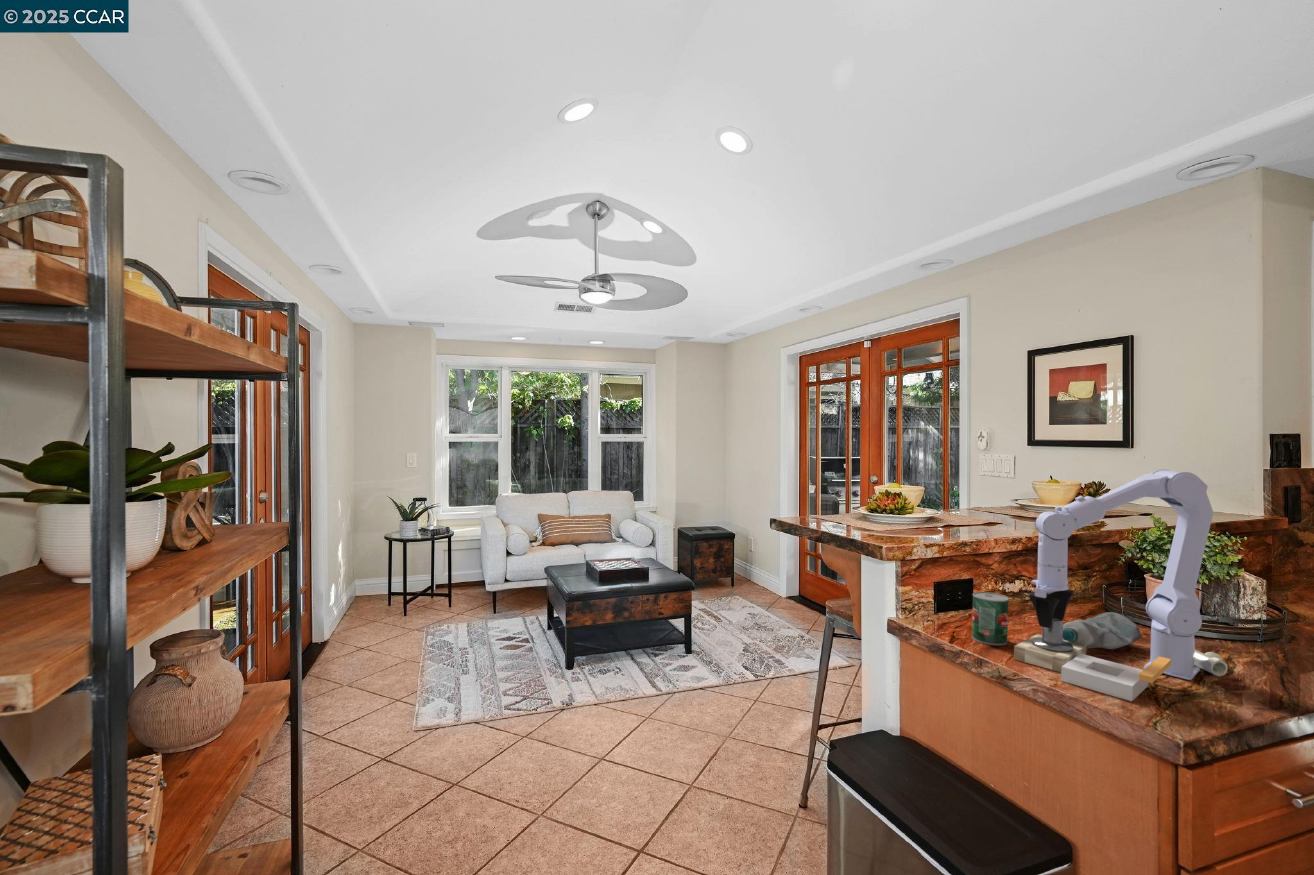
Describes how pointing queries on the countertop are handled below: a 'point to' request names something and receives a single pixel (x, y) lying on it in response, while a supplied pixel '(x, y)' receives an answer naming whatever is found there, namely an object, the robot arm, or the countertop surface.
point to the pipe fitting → (1210, 663)
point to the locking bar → (1155, 669)
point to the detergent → (1102, 631)
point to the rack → (1046, 654)
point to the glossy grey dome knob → (1053, 638)
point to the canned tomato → (990, 618)
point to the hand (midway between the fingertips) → (1051, 623)
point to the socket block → (1104, 676)
